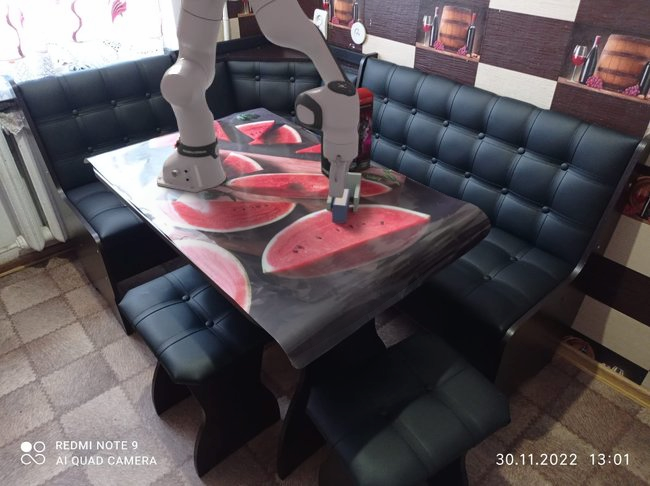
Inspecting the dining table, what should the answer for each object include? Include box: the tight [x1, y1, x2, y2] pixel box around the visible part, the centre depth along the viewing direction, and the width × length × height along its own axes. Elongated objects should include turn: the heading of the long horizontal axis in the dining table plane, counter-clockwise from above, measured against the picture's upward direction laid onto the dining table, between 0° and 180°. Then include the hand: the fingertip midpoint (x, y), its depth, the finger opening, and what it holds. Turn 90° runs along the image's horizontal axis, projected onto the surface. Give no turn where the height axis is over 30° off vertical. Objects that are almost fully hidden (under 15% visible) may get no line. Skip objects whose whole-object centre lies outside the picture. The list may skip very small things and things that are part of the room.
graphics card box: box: [320, 86, 375, 179], centre depth 161 cm, size 17×7×27 cm, turn 120°
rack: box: [326, 172, 362, 213], centre depth 149 cm, size 9×10×8 cm
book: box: [331, 189, 351, 224], centre depth 144 cm, size 4×10×6 cm, turn 172°
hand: (339, 195), depth 131 cm, fingers closed
